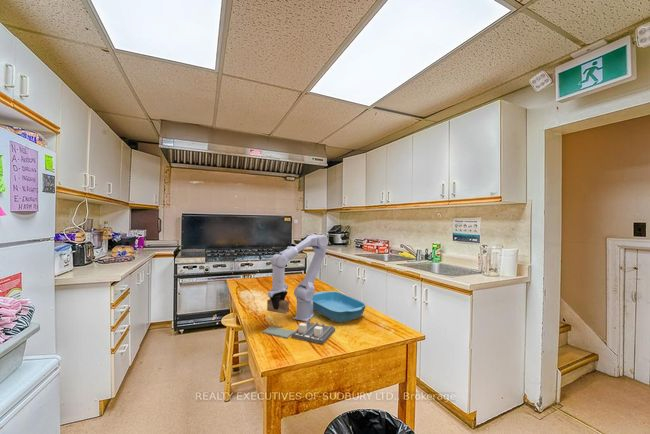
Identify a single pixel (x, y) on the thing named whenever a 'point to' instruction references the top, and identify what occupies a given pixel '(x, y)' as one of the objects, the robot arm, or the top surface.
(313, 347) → the top surface
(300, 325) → the switch tab
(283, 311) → the brown rectangular block
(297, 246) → the robot arm
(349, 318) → the casserole dish
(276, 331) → the mat
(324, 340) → the switch panel
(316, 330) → the switch tab
